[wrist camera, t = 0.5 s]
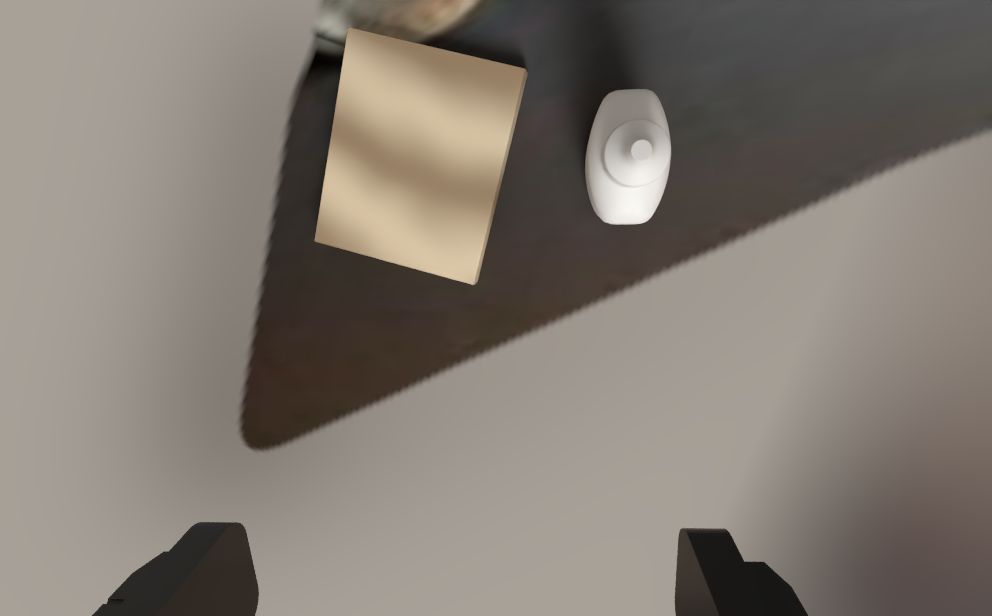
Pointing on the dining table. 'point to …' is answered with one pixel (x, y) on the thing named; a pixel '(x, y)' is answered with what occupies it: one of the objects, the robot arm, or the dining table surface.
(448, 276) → the oak board
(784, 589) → the robot arm
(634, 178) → the eye dropper bottle
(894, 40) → the dining table surface
